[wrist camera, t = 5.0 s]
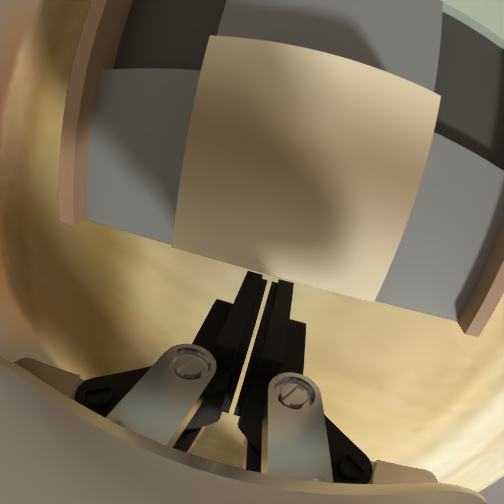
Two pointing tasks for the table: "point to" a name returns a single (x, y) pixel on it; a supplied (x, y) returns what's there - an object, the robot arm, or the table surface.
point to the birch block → (301, 164)
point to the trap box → (316, 38)
